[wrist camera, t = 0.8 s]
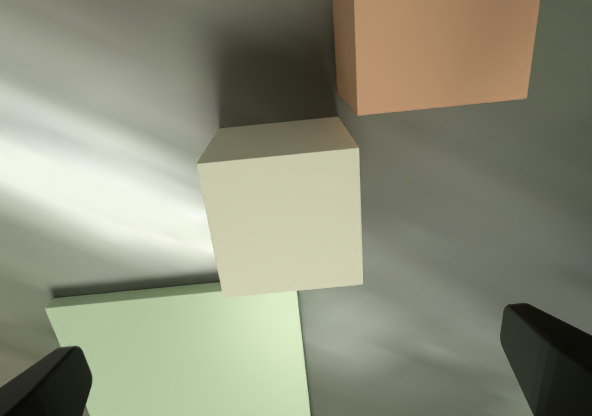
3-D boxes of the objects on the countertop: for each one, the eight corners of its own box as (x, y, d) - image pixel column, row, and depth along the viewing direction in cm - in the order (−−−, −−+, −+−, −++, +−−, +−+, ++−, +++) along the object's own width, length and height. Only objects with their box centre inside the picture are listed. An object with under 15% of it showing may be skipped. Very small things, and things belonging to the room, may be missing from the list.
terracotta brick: (468, -66, 14) (554, -110, 10) (458, 79, 16) (526, 98, 12) (329, -52, 14) (351, -88, 10) (336, 91, 17) (357, 115, 12)
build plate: (295, 274, 20) (295, 284, 19) (313, 440, 25) (314, 452, 24) (53, 298, 20) (44, 308, 19) (119, 458, 25) (113, 471, 24)
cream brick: (337, 116, 17) (358, 147, 12) (343, 223, 19) (363, 284, 14) (219, 128, 17) (196, 163, 12) (237, 233, 19) (223, 297, 14)
